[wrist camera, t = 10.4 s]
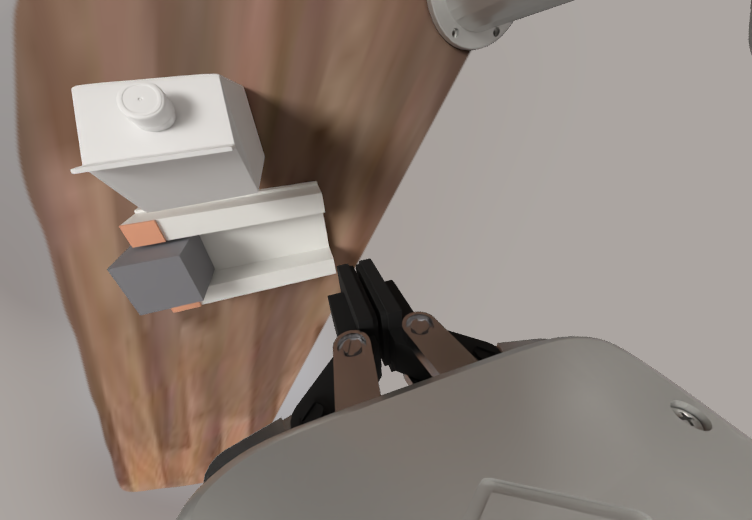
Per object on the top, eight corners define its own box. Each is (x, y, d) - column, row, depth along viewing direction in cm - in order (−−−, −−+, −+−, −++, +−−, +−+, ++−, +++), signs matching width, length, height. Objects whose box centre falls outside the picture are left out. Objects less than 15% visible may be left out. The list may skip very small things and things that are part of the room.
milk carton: (265, 157, 31) (255, 212, 16) (199, 167, 30) (117, 239, 14) (243, 85, 27) (202, 64, 12) (166, 92, 26) (5, 79, 10)
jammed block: (196, 228, 32) (179, 255, 26) (214, 268, 35) (203, 300, 29) (137, 238, 30) (106, 269, 25) (162, 279, 33) (140, 315, 28)
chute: (316, 180, 34) (321, 191, 30) (330, 259, 41) (336, 276, 37) (138, 207, 30) (117, 223, 26) (185, 291, 36) (174, 314, 32)
